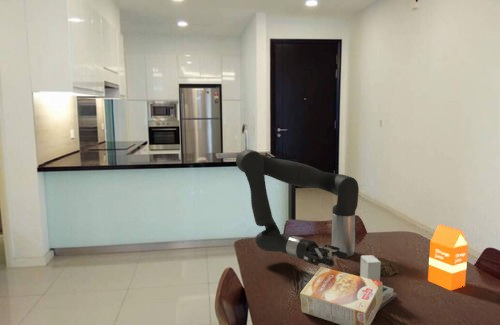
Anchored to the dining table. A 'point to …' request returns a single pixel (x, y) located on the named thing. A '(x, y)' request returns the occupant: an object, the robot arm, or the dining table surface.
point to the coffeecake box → (341, 297)
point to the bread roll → (387, 267)
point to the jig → (387, 296)
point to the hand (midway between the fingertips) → (340, 260)
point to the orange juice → (448, 258)
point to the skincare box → (370, 267)
